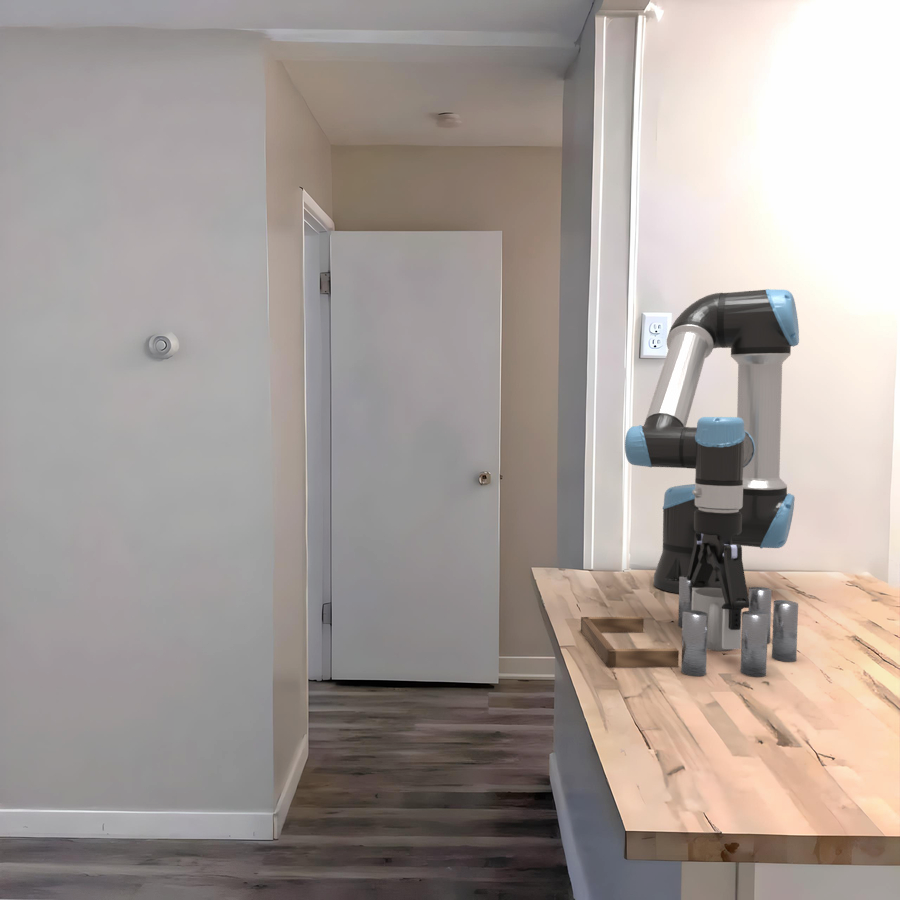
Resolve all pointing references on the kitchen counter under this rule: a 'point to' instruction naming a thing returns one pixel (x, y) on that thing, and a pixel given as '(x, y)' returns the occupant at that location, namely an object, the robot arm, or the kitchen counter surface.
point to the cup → (711, 614)
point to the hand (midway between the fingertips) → (714, 636)
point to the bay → (625, 657)
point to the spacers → (752, 632)
